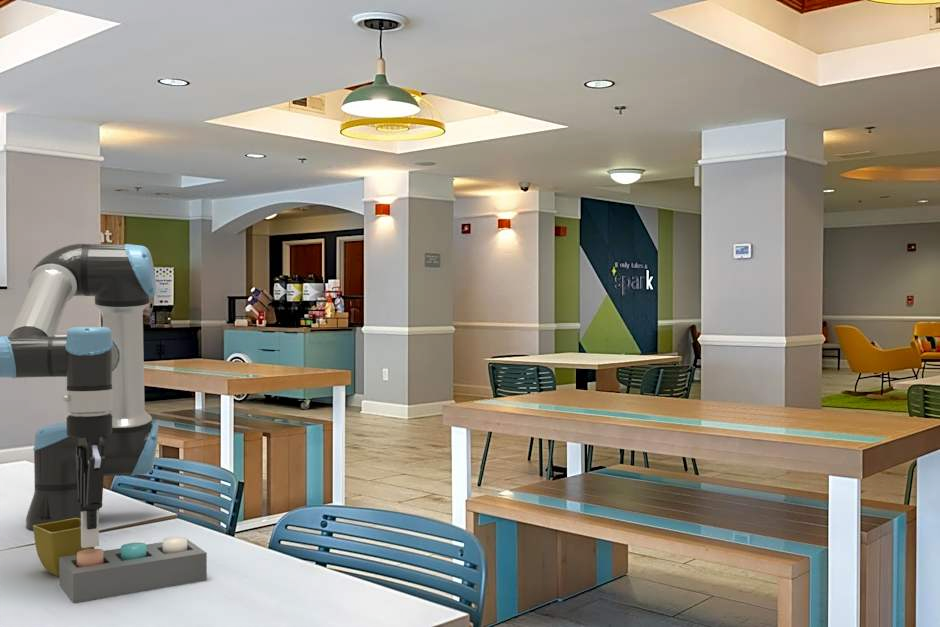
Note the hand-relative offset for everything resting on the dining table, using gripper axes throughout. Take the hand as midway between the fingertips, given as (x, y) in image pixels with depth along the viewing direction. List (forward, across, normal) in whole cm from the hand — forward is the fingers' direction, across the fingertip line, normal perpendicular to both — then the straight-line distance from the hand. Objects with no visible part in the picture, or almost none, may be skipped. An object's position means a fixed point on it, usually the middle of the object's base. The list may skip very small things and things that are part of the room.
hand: (89, 545), depth 162 cm
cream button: (+4, 0, +15) cm, 16 cm away
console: (+8, 0, +8) cm, 11 cm away
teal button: (+4, 0, +8) cm, 9 cm away
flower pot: (+8, -14, -1) cm, 16 cm away
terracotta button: (+4, 0, 0) cm, 4 cm away
